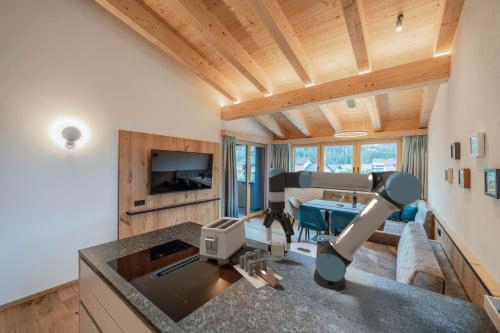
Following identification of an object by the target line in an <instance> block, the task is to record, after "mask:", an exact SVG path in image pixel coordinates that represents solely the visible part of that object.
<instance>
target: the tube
mask: <svg viewBox="0 0 500 333" xmlns="http://www.w3.org/2000/svg"><path fill="white" fill-rule="evenodd" d="M253 271H255V272H256V273H257V274H258V275H260V276H261V277H262V278H263V279H264V280H266V281H267V282H268V283H269V284H268V285H271V286H272V287H273V288H277V287H278V286H279V284H280V280H279V279H277V278H276V277H275V276H273V275H272V274H271V273H269V272H268V271H267V270H265V269H264V268H262V267H261V266H260V265H258V264H254V265H253Z"/></svg>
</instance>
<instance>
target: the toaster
mask: <svg viewBox="0 0 500 333" xmlns="http://www.w3.org/2000/svg"><path fill="white" fill-rule="evenodd" d="M245 226H246V225H245V219H244V218H237V217H230V216H223V217H220V218H219V219H216V220H214V221H213V222H210V223H207V224H206V225H203V226H202V227H201V229H200V230H201V232H200V233H201V234H200V240H199V241H200V242H199V243H200V244H199V256H200V257H199V262H200V261H201V262H208V261H209V260H210V259H212V260H217V264H218V265H226V264H230V258H231V257H232V256H233V255H234V254H235V253H237V252H238V251H239V250H240V249H242V248H241V247H245V246H247V236H246V235H247V234H246V227H245ZM245 248H246V247H245Z"/></svg>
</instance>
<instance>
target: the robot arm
mask: <svg viewBox="0 0 500 333" xmlns="http://www.w3.org/2000/svg"><path fill="white" fill-rule="evenodd" d="M311 187H317V188H330V189H331V188H332V189H345V190H360V191H367V192H368V193H371V194H372V198H371V199H370V200H369V201H368V202H367V203H366V205H365V206H364V207H363V208H362V209H361V210H360V211H359V212H358V214H356V216H354V218H353V219H352V220H350V221H351V222H349V224H348V225H347V226H346V227H345V228H344V229H343V230H342V231H341V233H340V234H339V235H338V236H334V235H330V234H319V235H317V237H316V254H315V261H314V262H315V263H314V264H315V271H314V273H313V281H314V283H315V284H316V285H317V286H320V287H321V288H324V289H327V290H333V291H335V292H341V291H344V290H345V289H346V288H347V281H346V277H345V276H346V273H347V268H348V267H349V266H350V265H351V264H352V263H353V261H354V254H355V253H356V252H357V251H358V250H359V249H360V248H361V247H362V246H363V245H364V244H365V243H366V241H367V240H369V238H370V237H371V236H372V235H373V234H374V233H375V232H376V231H377V230H378V229H379V228H380V227H381V226H382V225H383V223H384V222H386V221H387V219H388V218H389V217H390V216H391V215H392V214H393V213H394V212H401V211H402V210H404V208H405V207H406V206H407V205H411V204H414V203H416V202H417V201H419V199H420V198H421V197H422V194H423V189H424V188H423V184H422V182H421V181H420V179H419V178H418V177H417V176H416V175H414V174H412V173H410V172H407V171H402V170H401V171H397V170H388V171H387V170H386V171H385V170H384V171H369V172H368V173H356V172H355V173H354V172H352V173H351V172H333V171H332V172H330V171H309V170H308V171H307V170H298V171H290V172H289V171H286V170H285V167H271V168H269V169H268V200H269V202H268V208H266V213H265V216H264V220H263V222H262V226H264V227H265V236H266V239H265V240H266V242H272V238H273V237H272V236H273V235H272V231H273V230H272V224H273V223H274V222H275V221H277V222H278V223H279V224H280V226H281V228H282V230H283V233H284V234H285V235H284V243H285V251H287V250H288V251H289V250H291V243H292V236H294V235H295V233H296V232H295V230H294V228H293V225H292V222H291V219H290V213H289V212H285V211H284V210H285V209H286V201H285V200H286V189H302V190H305V189H310V188H311Z"/></svg>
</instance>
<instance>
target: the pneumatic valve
mask: <svg viewBox="0 0 500 333" xmlns="http://www.w3.org/2000/svg"><path fill="white" fill-rule="evenodd" d="M288 251H289V250H287V251H285V242H280V241H277V242H276V241H275V242H273V241H270V243H269V244H268V245H267V252H268V253H269V254H270V256H273V261H275V262H282V261H283V257H286V254H288V253H289V252H288Z"/></svg>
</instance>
